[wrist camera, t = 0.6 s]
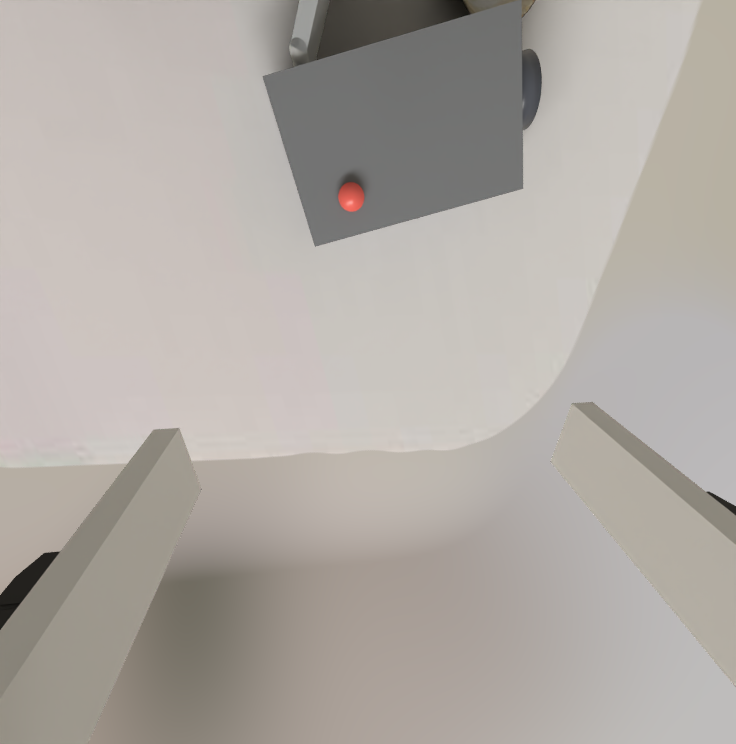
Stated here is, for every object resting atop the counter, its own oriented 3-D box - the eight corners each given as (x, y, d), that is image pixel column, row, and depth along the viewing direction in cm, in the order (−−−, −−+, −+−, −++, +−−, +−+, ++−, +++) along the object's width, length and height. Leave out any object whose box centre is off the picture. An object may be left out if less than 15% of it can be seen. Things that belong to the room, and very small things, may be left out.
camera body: (279, 103, 25) (258, 68, 19) (500, 38, 25) (563, -23, 18) (318, 237, 30) (314, 247, 24) (505, 185, 30) (556, 180, 23)
